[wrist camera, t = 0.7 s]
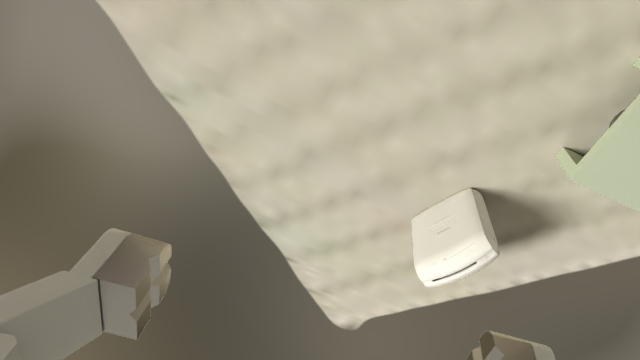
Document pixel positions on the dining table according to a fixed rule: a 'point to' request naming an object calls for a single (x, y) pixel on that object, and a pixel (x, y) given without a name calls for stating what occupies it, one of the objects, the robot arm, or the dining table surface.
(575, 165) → the stand
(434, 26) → the dining table surface
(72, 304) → the robot arm
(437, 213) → the photo printer
